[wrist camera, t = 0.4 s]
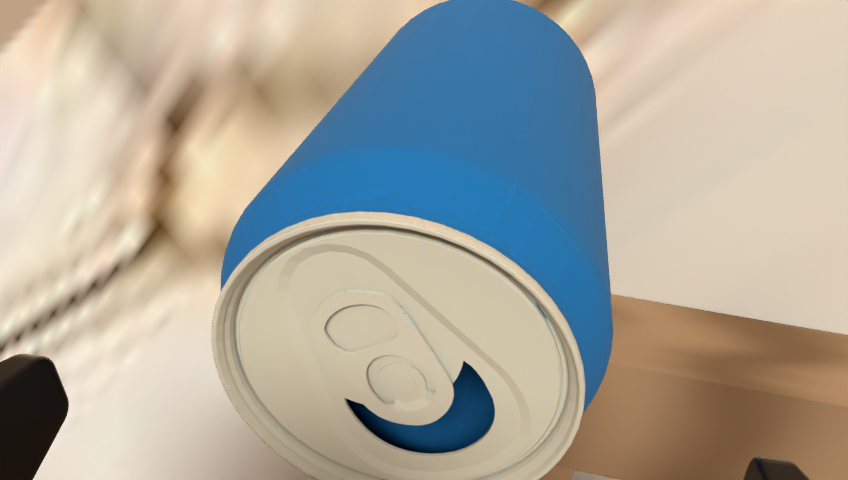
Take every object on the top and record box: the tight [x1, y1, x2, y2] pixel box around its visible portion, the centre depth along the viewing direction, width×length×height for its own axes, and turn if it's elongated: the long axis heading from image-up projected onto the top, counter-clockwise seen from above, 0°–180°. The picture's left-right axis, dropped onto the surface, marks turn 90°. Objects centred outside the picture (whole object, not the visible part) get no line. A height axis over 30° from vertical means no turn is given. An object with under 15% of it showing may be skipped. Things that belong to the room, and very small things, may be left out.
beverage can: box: [212, 0, 613, 480], centre depth 15 cm, size 6×6×12 cm
